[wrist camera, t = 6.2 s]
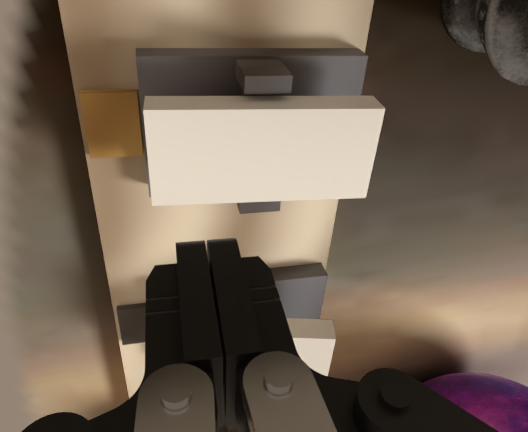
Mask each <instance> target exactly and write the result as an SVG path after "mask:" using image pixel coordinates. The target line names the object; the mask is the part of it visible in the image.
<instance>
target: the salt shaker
mask: <svg viewBox="0 0 528 432" xmlns="http://www.w3.org/2000/svg"><path fill="white" fill-rule="evenodd" d="M442 13H443V21H444V24H445V26H446V28H447V31H448V33H449V35H450V36H451V37H452V38H453V39H454V41H455V42H456V43H457V44H458V45H460V46H462V47H464V48H466V49H468V50H470V51H475V52H483V53H485V52H486V53H487V54H488V56H489V59H490V62H491V64H492V66H493V67H494V68H495V69H496V70H497V72H498V73H499V74H500V75H501V76H502V77H503V78H505V79H507V80H509V81H511V82H513V83H515V84H517V85H524V86H528V0H442Z"/></svg>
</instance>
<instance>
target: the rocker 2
mask: <svg viewBox="0 0 528 432" xmlns="http://www.w3.org/2000/svg"><path fill="white" fill-rule="evenodd" d="M286 319H287V322H288V325H289V328H290V331H291V335H292V338H293V341H294V344H295V347H296V350H297V352H298V354H299V356H300V358H301V359H302V360H303V361H304V362H305V363H306V364H307V365H308V366H309V367H310V368H311V369H313V370H314V371H316V372H318V373H320V374H322V375H325V376H328V373H329V368H330V364H331V359H332V355H333V350H334V346H335V341H336V337H335V331H334V325H333V320H327V319H300V318H286Z"/></svg>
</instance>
